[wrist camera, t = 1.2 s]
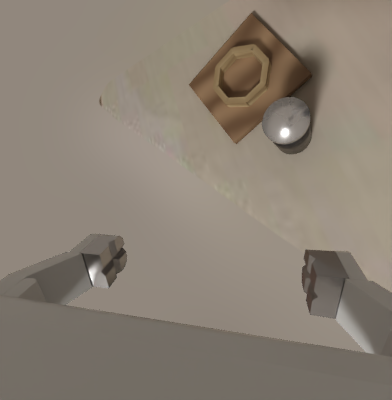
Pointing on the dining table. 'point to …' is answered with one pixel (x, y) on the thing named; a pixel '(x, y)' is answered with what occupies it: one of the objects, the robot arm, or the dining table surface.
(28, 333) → the robot arm
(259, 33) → the mount
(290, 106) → the canister
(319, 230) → the dining table surface
